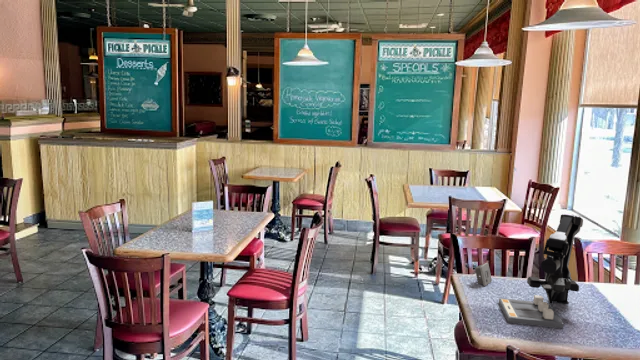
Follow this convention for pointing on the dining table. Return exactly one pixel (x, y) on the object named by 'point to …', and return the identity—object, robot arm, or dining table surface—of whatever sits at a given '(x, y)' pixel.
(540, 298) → the beige cube
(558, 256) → the robot arm
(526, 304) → the switch panel
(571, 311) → the dining table surface
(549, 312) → the tab
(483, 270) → the electrical switch
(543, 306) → the tab
